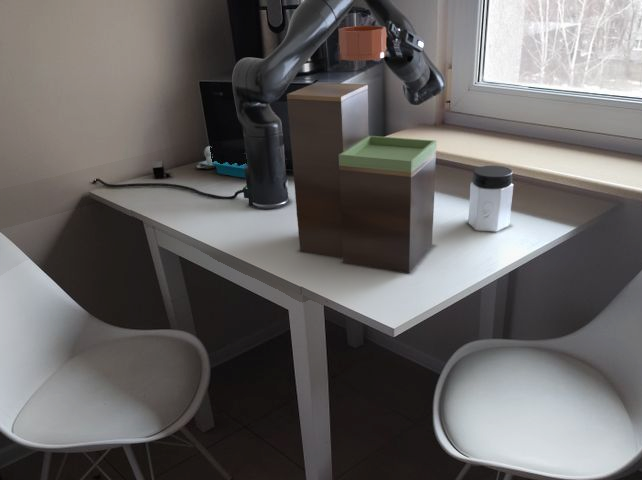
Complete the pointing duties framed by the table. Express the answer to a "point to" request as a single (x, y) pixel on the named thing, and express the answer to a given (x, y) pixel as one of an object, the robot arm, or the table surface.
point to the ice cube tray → (230, 169)
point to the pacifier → (208, 161)
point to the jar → (490, 198)
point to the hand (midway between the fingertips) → (380, 25)
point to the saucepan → (362, 43)
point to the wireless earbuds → (159, 170)
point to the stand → (354, 185)
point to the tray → (388, 153)
